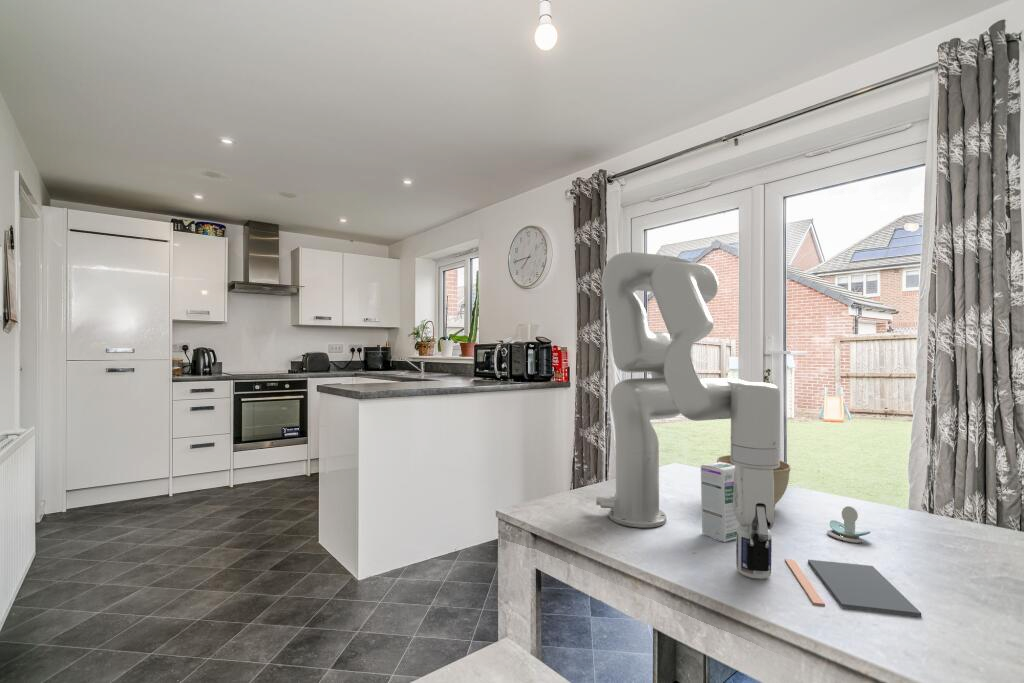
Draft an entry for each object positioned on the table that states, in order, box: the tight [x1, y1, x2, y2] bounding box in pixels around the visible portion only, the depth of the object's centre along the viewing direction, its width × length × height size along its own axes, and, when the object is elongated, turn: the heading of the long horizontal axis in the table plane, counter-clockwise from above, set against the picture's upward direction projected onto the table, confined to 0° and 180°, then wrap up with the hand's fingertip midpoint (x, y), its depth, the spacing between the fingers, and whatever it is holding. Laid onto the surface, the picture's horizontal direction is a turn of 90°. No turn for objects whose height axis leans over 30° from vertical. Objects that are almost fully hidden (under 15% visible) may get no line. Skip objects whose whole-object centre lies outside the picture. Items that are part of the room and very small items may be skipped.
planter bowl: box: [716, 454, 791, 510], centre depth 121 cm, size 16×16×11 cm
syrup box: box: [700, 462, 740, 543], centre depth 102 cm, size 6×6×14 cm
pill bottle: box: [735, 522, 773, 580], centre depth 85 cm, size 5×5×10 cm
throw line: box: [784, 558, 826, 607], centre depth 82 cm, size 2×16×1 cm, turn 165°
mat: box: [807, 559, 922, 618], centre depth 80 cm, size 10×16×1 cm, turn 165°
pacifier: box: [826, 505, 871, 544], centre depth 101 cm, size 7×6×6 cm
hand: (753, 560), depth 85 cm, fingers closed on pill bottle, 5 cm apart
